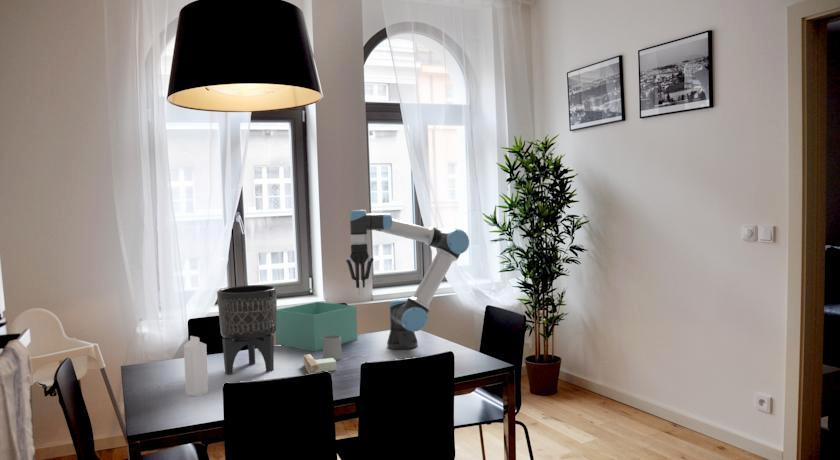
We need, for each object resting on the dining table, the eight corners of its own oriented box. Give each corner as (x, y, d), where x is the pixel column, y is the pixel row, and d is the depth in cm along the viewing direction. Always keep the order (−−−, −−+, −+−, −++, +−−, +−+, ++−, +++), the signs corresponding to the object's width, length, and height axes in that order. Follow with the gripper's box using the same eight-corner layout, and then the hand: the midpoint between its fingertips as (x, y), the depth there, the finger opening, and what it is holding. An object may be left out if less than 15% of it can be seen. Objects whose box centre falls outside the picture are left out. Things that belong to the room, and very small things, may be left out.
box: (318, 333, 341) (317, 301, 340) (357, 339, 323) (356, 306, 322) (275, 344, 318) (274, 310, 317) (315, 351, 299) (313, 315, 298)
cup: (337, 360, 279) (337, 339, 279) (320, 360, 281) (319, 338, 281) (343, 356, 288) (342, 335, 287) (327, 355, 289) (326, 334, 289)
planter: (290, 363, 277) (287, 285, 275) (258, 379, 253) (255, 293, 251) (243, 360, 285) (240, 284, 283) (208, 375, 261) (204, 292, 260)
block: (333, 366, 270) (333, 357, 270) (336, 370, 264) (336, 361, 264) (313, 369, 267) (312, 360, 267) (316, 373, 261) (315, 363, 261)
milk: (199, 390, 240) (197, 334, 240) (208, 392, 237) (206, 335, 236) (185, 394, 235) (183, 337, 235) (194, 396, 232) (192, 338, 231)
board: (310, 365, 273) (310, 354, 273) (318, 376, 254) (318, 364, 254) (303, 366, 272) (303, 354, 272) (311, 377, 253) (311, 365, 253)
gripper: (370, 242, 287) (372, 292, 288) (343, 243, 282) (344, 294, 283) (375, 243, 280) (376, 294, 281) (347, 244, 275) (348, 297, 276)
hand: (360, 294), depth 282 cm, fingers closed
